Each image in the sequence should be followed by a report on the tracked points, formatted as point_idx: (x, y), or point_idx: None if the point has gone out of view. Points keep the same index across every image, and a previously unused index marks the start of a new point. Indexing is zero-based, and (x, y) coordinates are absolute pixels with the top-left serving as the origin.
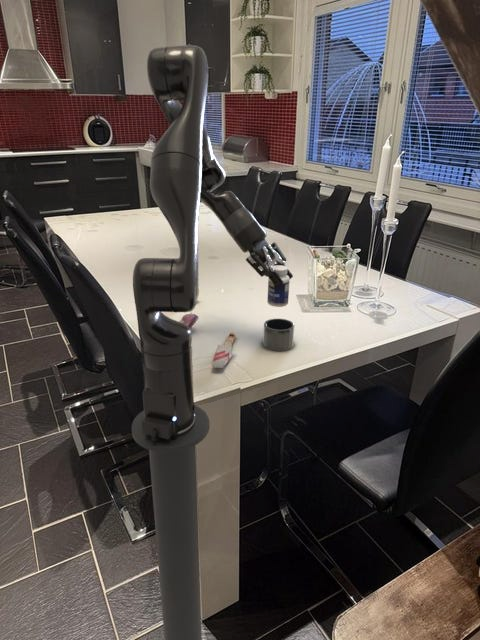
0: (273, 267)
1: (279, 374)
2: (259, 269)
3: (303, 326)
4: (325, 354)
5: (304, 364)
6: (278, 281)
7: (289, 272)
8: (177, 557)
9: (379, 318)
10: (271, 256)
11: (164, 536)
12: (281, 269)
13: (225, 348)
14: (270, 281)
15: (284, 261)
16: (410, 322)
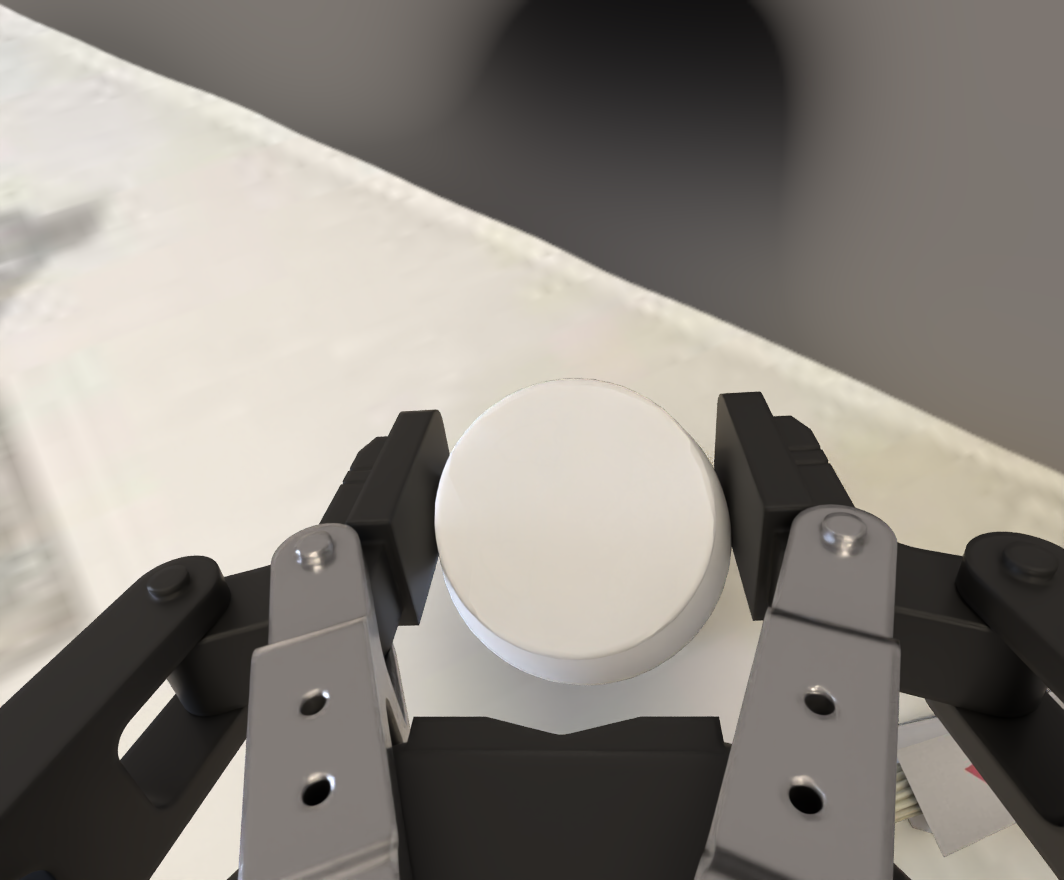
0: (628, 612)
1: (888, 401)
2: (1025, 770)
3: (284, 535)
4: (556, 302)
5: (715, 343)
6: (802, 429)
7: (414, 438)
8: None
9: (29, 238)
10: (507, 757)
11: None
12: (652, 435)
13: (945, 780)
14: (718, 599)
15: (221, 580)
16: (29, 112)
